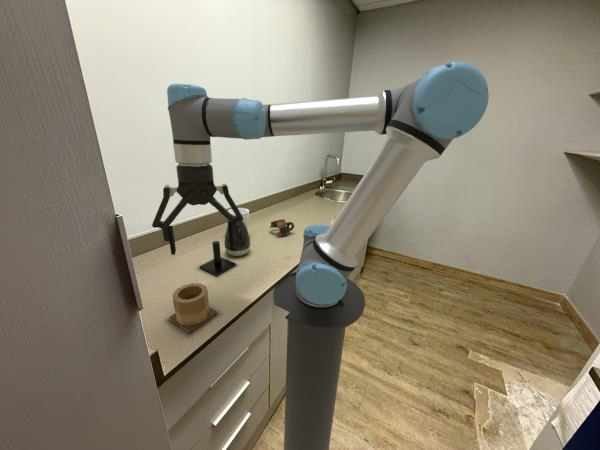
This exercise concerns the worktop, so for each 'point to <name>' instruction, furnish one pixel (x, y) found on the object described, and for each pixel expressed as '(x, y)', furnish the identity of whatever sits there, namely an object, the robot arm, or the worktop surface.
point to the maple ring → (191, 304)
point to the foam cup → (244, 214)
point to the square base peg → (217, 262)
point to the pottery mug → (282, 227)
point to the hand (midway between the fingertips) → (203, 249)
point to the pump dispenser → (238, 240)
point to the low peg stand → (192, 328)
